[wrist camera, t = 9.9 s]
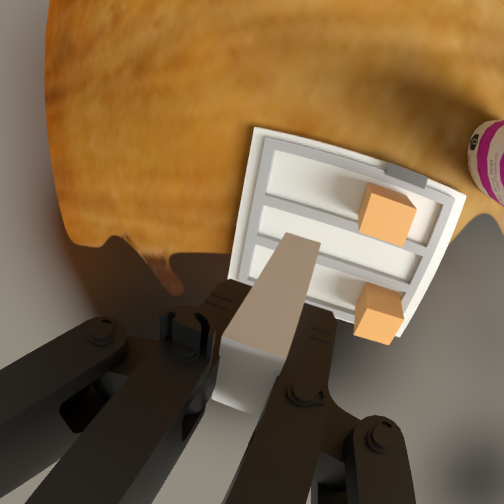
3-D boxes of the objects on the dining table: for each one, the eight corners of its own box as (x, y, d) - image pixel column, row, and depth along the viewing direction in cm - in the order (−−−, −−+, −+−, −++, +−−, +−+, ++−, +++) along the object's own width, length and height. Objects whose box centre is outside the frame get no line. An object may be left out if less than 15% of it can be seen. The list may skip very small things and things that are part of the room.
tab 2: (355, 306, 31) (353, 334, 26) (366, 281, 29) (367, 308, 25) (386, 316, 30) (389, 345, 26) (399, 292, 28) (404, 319, 24)
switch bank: (231, 277, 36) (223, 287, 34) (259, 125, 28) (251, 125, 25) (398, 330, 32) (399, 343, 30) (462, 190, 23) (471, 196, 21)
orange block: (357, 214, 27) (358, 232, 22) (367, 181, 25) (371, 192, 21) (395, 227, 26) (402, 247, 22) (406, 195, 24) (417, 209, 20)
